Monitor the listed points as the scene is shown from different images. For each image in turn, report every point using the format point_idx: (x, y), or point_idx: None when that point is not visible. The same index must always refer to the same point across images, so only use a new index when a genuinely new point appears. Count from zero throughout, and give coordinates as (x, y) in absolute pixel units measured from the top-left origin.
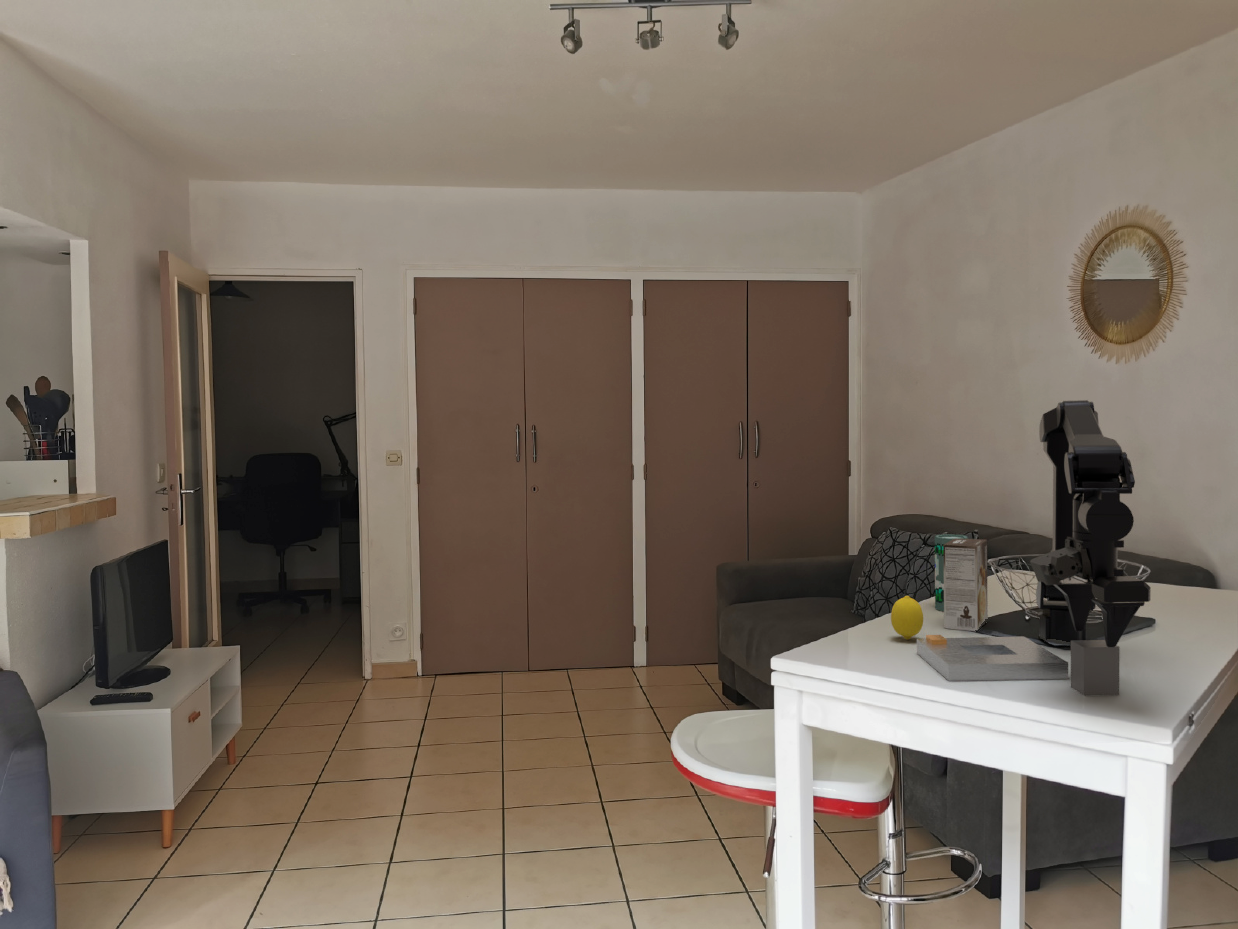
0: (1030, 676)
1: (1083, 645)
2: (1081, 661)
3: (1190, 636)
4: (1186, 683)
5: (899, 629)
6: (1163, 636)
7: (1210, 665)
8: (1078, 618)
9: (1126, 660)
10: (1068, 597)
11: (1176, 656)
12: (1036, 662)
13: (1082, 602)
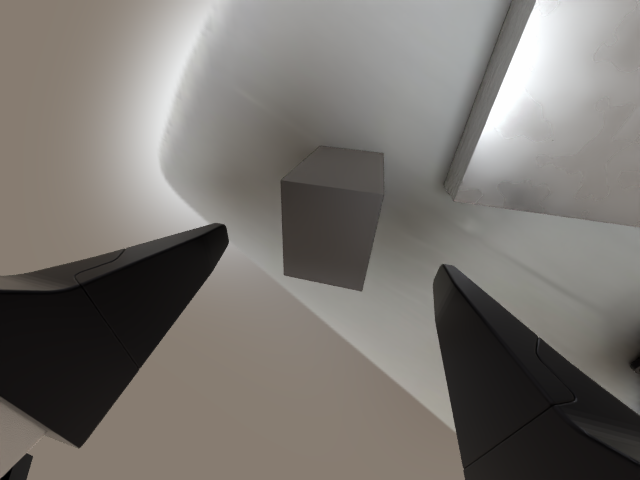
0: (488, 73)
1: (307, 194)
2: (313, 167)
3: None
4: (355, 330)
5: None
6: None
7: (420, 395)
8: (453, 308)
9: None
10: (556, 405)
11: None
12: (504, 101)
13: (477, 404)
